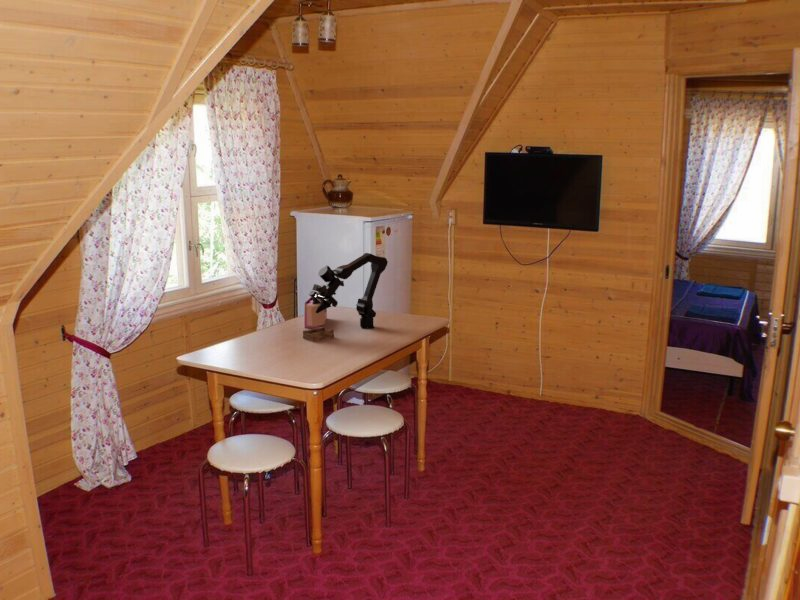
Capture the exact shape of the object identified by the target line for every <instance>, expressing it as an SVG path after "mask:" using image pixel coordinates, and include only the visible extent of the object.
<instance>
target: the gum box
mask: <svg viewBox="0 0 800 600" xmlns="http://www.w3.org/2000/svg"><path fill="white" fill-rule="evenodd" d="M320 302H321V301H320ZM312 303H313V298H312V297H311V296H310V298H308V299H307V300H306V301H305V302H304V318H303V319H304V327H305V328H306V329H314V328H319V327H322V325H317V326H310V325H307V305H312ZM327 309H328V308H327ZM327 309H325V321H326V320H327V318H328V313H327V311H328V310H327ZM305 328H304V329H305Z"/></svg>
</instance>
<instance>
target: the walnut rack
mask: <svg viewBox="0 0 800 600" xmlns="http://www.w3.org/2000/svg"><path fill="white" fill-rule="evenodd" d="M334 332H335V331H334V329H326V326H320V327H319V328H309V329H306V330H302V339H303V338H304V339H303V340H307V341H309V342H311V343H312V342H313V343H315V342H320V341H323V340H329V339H333V338H335V335H334Z"/></svg>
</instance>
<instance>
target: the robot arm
mask: <svg viewBox="0 0 800 600" xmlns="http://www.w3.org/2000/svg"><path fill="white" fill-rule="evenodd" d="M388 262H389V261H388V259H387V258H386V257H383V256H379V255H375V254H373V253H369V252H365V253H363V254H362V255H361V256H359V257H357V258H356V259H354V260H352V261H351V262H349V263H347V264H343V265H340V266H337V267H336V268H335V269H331V267H330V266H329V265H325V267H322V268H320V269H319V270H318V273H317V275H318V276H319V277H320V279H322V281H324V283H327V284H321V285H319V284H316V283H314V284H313V287H312V289H311V290H310V292H309V293H308V295H309V297H310V298H311V297H312V298H313V303H312V304H318V303H321V304H320V305H319V307H318V309H317V310H316V313H319V312H321V311H323V310H324V309H329V308H331V307H334V308H336V307H337V306H338V303H339V302H338V300H337V299H335V297H334V296H333V295H335V296H336V295H337V293H336V291H338V289H339V288H340V287H345V284H344V283H345V282H344V280H347V279H348V278H350V277H351V276H352V275H353V273H354V272H355V271H357V270H358V269H360V268H361V267H363V266H365V265H366V264H368V263H371V264H370V267H371V268H370V269H371V272H370V276H369V279H368V282H367V285H366V287H365V291H364V294H363V296H362V297H361V298H358V299H357V303H356V304H355V306H356V311H357V313H358V315H359V316H360V318H359V326H360V328H361V329H364V328H365V329H375V326H374V318H375V317H376V316H377V312H376V311H375V310H374V309H373V307H374V303H373V298H374V294H375V292H376V289H377V285H378V283H379V280H380V276H381V275H382V273H383V272H384V271H385V270H386V268H387V266H388ZM320 301H321V302H320ZM365 329H364V330H365Z"/></svg>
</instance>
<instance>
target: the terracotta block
mask: <svg viewBox="0 0 800 600" xmlns="http://www.w3.org/2000/svg"><path fill="white" fill-rule="evenodd" d="M320 304H321V303H318V304H312V305H307V325H310V326H317V325H321V326H322V325H326V320H325V309H324V310H323V311H321V312H319V313H316V310H317V309H318V307H319V305H320Z"/></svg>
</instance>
